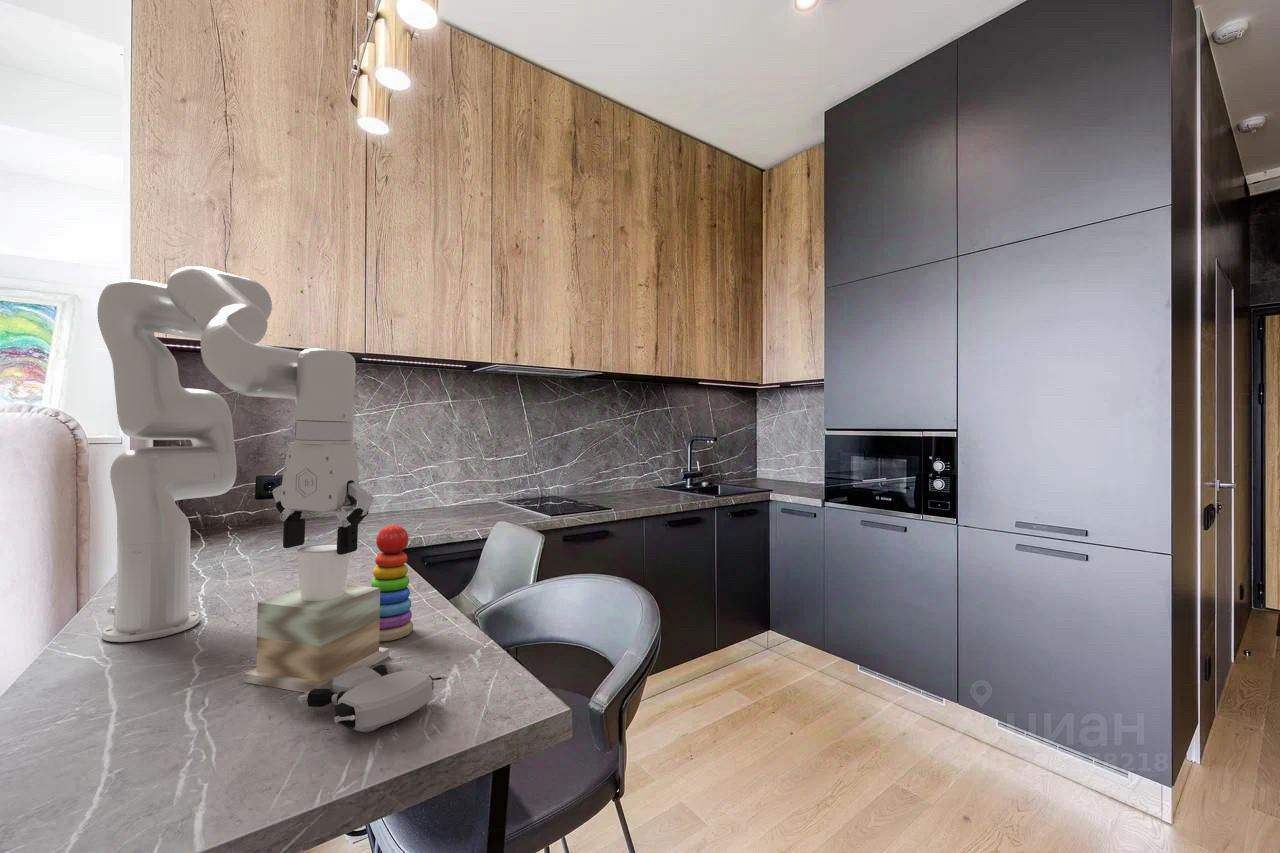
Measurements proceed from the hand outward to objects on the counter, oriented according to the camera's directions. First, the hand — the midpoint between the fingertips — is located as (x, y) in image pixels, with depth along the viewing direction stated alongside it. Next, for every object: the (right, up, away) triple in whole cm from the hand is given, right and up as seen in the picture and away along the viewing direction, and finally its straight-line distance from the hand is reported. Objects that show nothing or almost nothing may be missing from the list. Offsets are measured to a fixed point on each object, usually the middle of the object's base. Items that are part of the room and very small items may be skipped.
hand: (320, 549), depth 80 cm
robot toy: (+14, -18, -12) cm, 26 cm away
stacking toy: (+4, -18, +13) cm, 23 cm away
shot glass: (+1, -7, 0) cm, 7 cm away
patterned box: (0, -17, 0) cm, 17 cm away
